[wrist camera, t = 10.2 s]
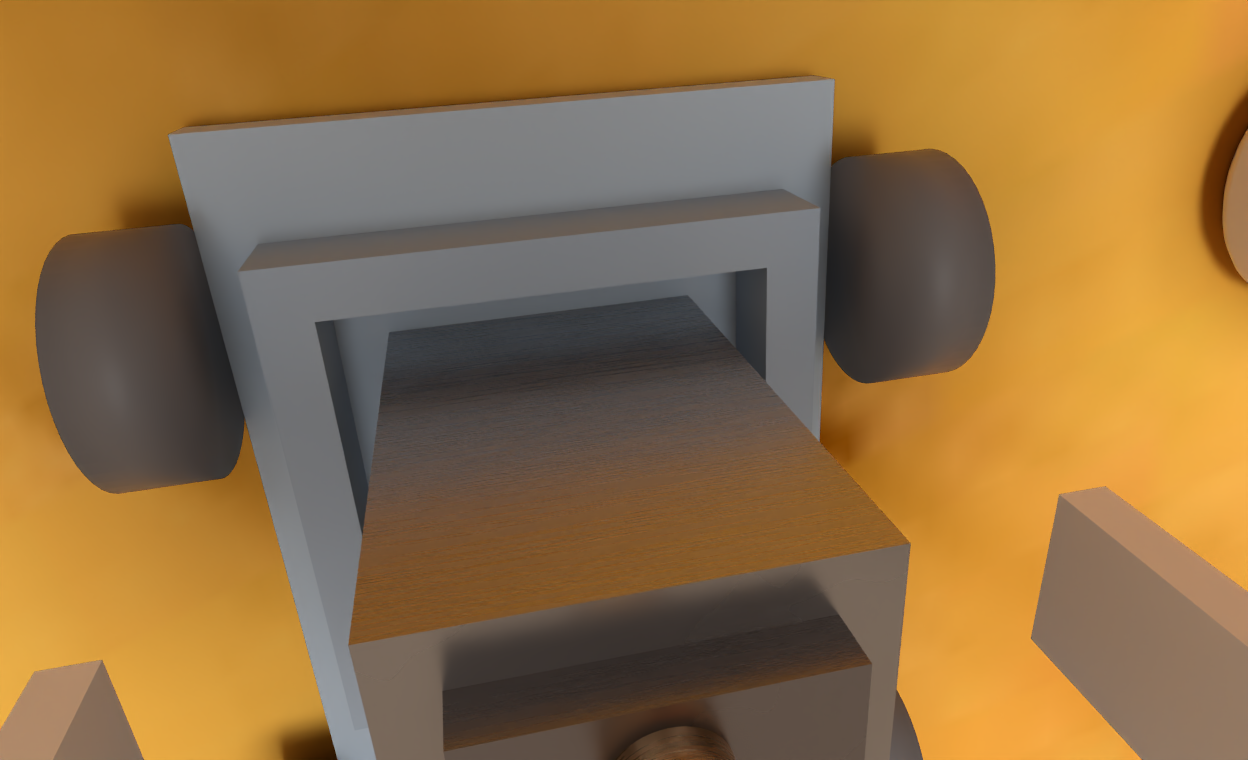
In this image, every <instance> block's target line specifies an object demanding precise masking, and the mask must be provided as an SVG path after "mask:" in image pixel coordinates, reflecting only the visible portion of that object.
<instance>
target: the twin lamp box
mask: <svg viewBox="0 0 1248 760" xmlns="http://www.w3.org/2000/svg"><path fill="white" fill-rule="evenodd" d="M909 554H910V542H909V541H908V540H907V539H906V538H905V537H904V535H903V534H902V533H901V532H900V531H899V530H898V529H897V528H896V527H895V525H894V524H893V523H892V522H891V521H890V520H889V519H888V518H887V517H886V515H885V514H884V513H883V512H882V511H881V510H880V509H879V508H878V506H877V505H876V504H875V503H874V502H873V501H872V500H871V499H870V498H869V496H868V495H867V494H866V493H865V492H864V491H863V490H862V489H861V488H860V486H859V485H858V484H857V483H856V482H855V481H854V480H853V479H852V477H851V476H850V475H849V474H848V473H847V472H846V471H845V470H844V469H843V467H842V466H841V465H840V464H839V463H838V462H837V461H836V460H835V459H834V457H833V456H832V455H831V454H830V453H829V452H828V451H827V450H826V448H825V447H824V446H823V445H822V444H821V443H820V442H819V441H818V440H817V438H816V437H815V436H814V435H813V434H812V433H811V432H810V431H809V429H808V428H807V427H806V426H805V425H804V424H803V423H802V422H801V421H800V419H799V418H798V417H797V416H796V415H795V414H794V413H793V412H792V411H791V409H790V408H789V407H788V406H787V405H786V404H785V403H784V402H783V400H782V399H781V398H780V397H779V396H778V395H777V394H776V393H775V392H774V390H773V389H772V388H771V387H770V386H769V385H768V384H767V383H766V382H765V380H764V379H763V378H762V377H761V376H760V375H759V374H758V373H757V371H756V370H755V369H754V368H753V367H752V366H751V365H750V364H749V363H748V361H747V360H746V359H745V358H744V357H743V356H742V355H741V354H740V353H739V351H738V350H737V349H736V348H735V347H734V346H733V345H732V344H731V342H730V341H729V340H728V339H727V338H726V337H725V336H724V335H723V334H722V332H721V331H720V330H719V329H718V328H717V327H716V326H715V325H714V324H713V322H712V321H711V320H710V319H709V318H708V317H707V316H706V315H705V313H704V312H703V311H702V310H701V309H700V308H699V307H698V306H697V305H696V303H695V302H694V301H693V300H692V299H691V298H690V297H689V296H688V295H685V296H677V297H669V298H661V299H653V300H645V301H637V302H629V303H621V304H612V305H604V306H596V307H588V308H580V309H572V310H564V311H556V312H548V313H540V314H532V315H524V316H516V317H508V318H500V319H492V320H484V321H476V322H467V323H459V324H451V325H443V326H435V327H427V328H419V329H411V330H403V331H395V332H389V336H388V343H387V351H386V359H385V366H384V374H383V382H382V389H381V397H380V405H379V412H378V420H377V428H376V435H375V443H374V451H373V459H372V466H371V474H370V482H369V489H368V497H367V505H366V512H365V520H364V528H363V535H362V543H361V551H360V558H359V566H358V574H357V582H356V589H355V597H354V605H353V612H352V620H351V628H350V635H349V643H348V647H349V651H350V655H351V659H352V663H353V667H354V671H355V675H356V679H357V683H358V687H359V691H360V695H361V700H362V704H363V708H364V712H365V716H366V720H367V724H368V728H369V732H370V736H371V740H372V744H373V748H374V752H375V756H376V760H889V759H890V748H891V738H892V728H893V718H894V707H895V697H896V687H897V677H898V666H899V656H900V646H901V636H902V625H903V615H904V605H905V595H906V584H907V574H908V564H909Z"/></svg>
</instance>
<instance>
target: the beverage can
mask: <svg viewBox="0 0 1248 760" xmlns="http://www.w3.org/2000/svg"><path fill="white" fill-rule="evenodd" d="M1222 220H1223V232H1224V239H1225V243H1226V247H1227V250H1228V252H1229V255H1230V257H1231V260H1232V262H1233V264H1234V266H1235V268H1236V270H1237V272H1238V273H1239V274H1240V276H1241V277H1242V278H1243V279H1244V280H1245V281H1246V282H1247V283H1248V129H1247V130H1246V132H1245V134H1244V136H1243V138H1242V140H1241V142H1240V143H1239V145H1238V148H1237V150H1236V152H1235V155H1234V157H1233V160H1232V163H1231V165H1230V168H1229V172H1228V176H1227V180H1226V184H1225V190H1224V201H1223V215H1222Z"/></svg>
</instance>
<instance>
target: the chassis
mask: <svg viewBox="0 0 1248 760" xmlns="http://www.w3.org/2000/svg"><path fill="white" fill-rule="evenodd" d="M834 84H835V79H831V78H825V77H820V76H814V75H813V76H801V77H788V78H776V79H764V80H752V81H740V82H728V83H716V84H703V85H691V86H679V87H667V88H655V89H643V90H631V91H618V92H606V93H594V94H582V95H570V96H558V97H546V98H533V99H521V100H509V101H497V102H485V103H473V104H461V105H448V106H436V107H424V108H412V109H400V110H388V111H376V112H363V113H351V114H339V115H327V116H315V117H303V118H291V119H278V120H266V121H254V122H242V123H230V124H218V125H206V126H193V127H183V128H181V129H179V130H177V131H175V132H173V133H171V134H168V137H169V141H170V145H171V148H172V152H173V156H174V159H175V163H176V167H177V170H178V174H179V178H180V181H181V185H182V189H183V193H184V196H185V200H186V204H187V207H188V211H189V215H190V218H191V222H192V226H193V229H194V231H193V230H192V229H191V228H189V227H188V226H186V225H183V224H172V225H162V226H152V227H142V228H132V229H122V230H112V231H102V232H92V233H82V234H72V235H68V236H66V237H63V238H62V239H61V240H59V241H58V242H57V243H56V244H55V245H54V247H53V248H52V249H51V251H50V252H49V254H48V256H47V258H46V260H45V262H44V265H43V268H42V272H41V275H40V279H39V284H38V289H37V298H36V313H35V329H36V346H37V354H38V362H39V368H40V373H41V378H42V383H43V387H44V391H45V395H46V399H47V403H48V406H49V409H50V412H51V415H52V418H53V421H54V423H55V425H56V428H57V430H58V433H59V435H60V437H61V439H62V441H63V443H64V445H65V447H66V449H67V451H68V453H69V454H70V456H71V458H72V459H73V461H74V462H75V464H76V465H77V467H78V468H79V469H80V470H81V472H82V473H83V474H84V475H85V476H86V477H87V478H88V479H89V480H90V481H91V482H92V483H93V484H94V485H96V486H97V487H99V488H100V489H102V490H104V491H107V492H109V493H116V494H119V493H126V492H133V491H140V490H147V489H153V488H160V487H167V486H174V485H181V484H188V483H194V482H201V481H208V480H215V479H221V478H225V477H226V476H228V475H229V474H230V473H231V471H232V470H233V468H234V467H235V465H236V463H237V460H238V457H239V454H240V450H241V446H242V439H243V432H244V418H245V421H246V424H247V428H248V432H249V435H250V439H251V443H252V446H253V450H254V454H255V458H256V461H257V465H258V469H259V472H260V476H261V480H262V483H263V487H264V491H265V494H266V498H267V502H268V505H269V509H270V513H271V516H272V520H273V524H274V527H275V531H276V535H277V538H278V542H279V546H280V550H281V553H282V557H283V561H284V564H285V568H286V572H287V575H288V579H289V583H290V586H291V590H292V594H293V597H294V601H295V605H296V608H297V612H298V616H299V619H300V623H301V627H302V631H303V634H304V638H305V642H306V645H307V649H308V653H309V656H310V660H311V664H312V667H313V671H314V675H315V678H316V682H317V686H318V689H319V693H320V697H321V700H322V704H323V708H324V711H325V715H326V719H327V723H328V726H329V730H330V734H331V737H332V741H333V745H334V748H335V752H336V756H337V759H338V760H376V756H375V752H374V748H373V744H372V740H371V736H370V732H369V728H368V724H367V720H366V716H365V712H364V708H363V704H362V700H361V695H360V691H359V687H358V683H357V679H356V675H355V671H354V667H353V663H352V659H351V655H350V651H349V647H348V643H349V635H350V628H351V620H352V612H353V605H354V597H355V589H356V582H357V574H358V566H359V558H360V551H361V543H362V535H363V528H364V520H365V512H366V505H367V497H368V489H369V482H370V474H371V466H372V459H373V451H374V443H375V435H376V428H377V420H378V412H379V405H380V397H381V389H382V382H383V374H384V366H385V359H386V351H387V343H388V336H389V332H395V331H403V330H411V329H419V328H427V327H435V326H443V325H451V324H459V323H467V322H476V321H484V320H492V319H500V318H508V317H516V316H524V315H532V314H540V313H548V312H556V311H564V310H572V309H580V308H588V307H596V306H604V305H612V304H621V303H629V302H637V301H645V300H653V299H661V298H669V297H677V296H685V295H688V296H689V297H690V298H691V299H692V300H693V301H694V302H695V303H696V305H697V306H698V307H699V308H700V309H701V310H702V311H703V312H704V313H705V315H706V316H707V317H708V318H709V319H710V320H711V321H712V322H713V324H714V325H715V326H716V327H717V328H718V329H719V330H720V331H721V332H722V334H723V335H724V336H725V337H726V338H727V339H728V340H729V341H730V342H731V344H732V345H733V346H734V347H735V348H736V349H737V350H738V351H739V353H740V354H741V355H742V356H743V357H744V358H745V359H746V360H747V361H748V363H749V364H750V365H751V366H752V367H753V368H754V369H755V370H756V371H757V373H758V374H759V375H760V376H761V377H762V378H763V379H764V380H765V382H766V383H767V384H768V385H769V386H770V387H771V388H772V389H773V390H774V392H775V393H776V394H777V395H778V396H779V397H780V398H781V399H782V400H783V402H784V403H785V404H786V405H787V406H788V407H789V408H790V409H791V411H792V412H793V413H794V414H795V415H796V416H797V417H798V418H799V419H800V421H801V422H802V423H803V424H804V425H805V426H806V427H807V428H808V429H809V431H810V432H811V433H812V434H813V435H814V436H815V437H816V438H817V440H818V441H820V417H821V393H822V370H823V346H824V340H825V342H826V344H827V346H828V349H829V351H830V353H831V354H832V356H833V358H834V359H835V361H836V362H837V364H838V365H839V366H840V368H841V369H842V370H843V371H844V372H845V373H846V374H847V375H848V376H850V377H851V378H852V379H854V380H856V381H858V382H861V383H875V382H882V381H889V380H896V379H902V378H909V377H916V376H923V375H930V374H937V373H943V372H949V371H952V370H955V369H957V368H958V367H960V366H962V365H963V364H964V363H965V362H966V361H967V360H968V359H969V358H970V357H971V356H972V355H973V353H974V352H975V351H976V349H977V348H978V346H979V344H980V342H981V340H982V338H983V336H984V333H985V331H986V328H987V325H988V322H989V318H990V314H991V310H992V304H993V298H994V288H995V255H994V245H993V239H992V232H991V228H990V224H989V219H988V215H987V212H986V209H985V207H984V204H983V201H982V198H981V196H980V194H979V192H978V189H977V187H976V186H975V184H974V182H973V181H972V179H971V177H970V176H969V174H968V173H967V172H966V170H965V169H964V168H963V166H962V165H960V164H959V163H958V162H957V161H956V160H955V159H954V158H953V157H951V156H950V155H948V154H947V153H944V152H942V151H939V150H934V149H924V150H914V151H904V152H894V153H884V154H874V155H864V156H854V157H845V158H843V159H840V160H838V161H837V162H836V163H834V164H833V165H832V166H831V155H832V132H833V108H834ZM889 760H923V758H922V754H921V750H920V746H919V743H918V739H917V736H916V733H915V730H914V727H913V725H912V722H911V719H910V717H909V714H908V712H907V710H906V707H905V705H904V703H903V701H902V699H901V697H900V695H899V693H898V691H897V690H896V697H895V707H894V718H893V728H892V738H891V748H890V759H889Z"/></svg>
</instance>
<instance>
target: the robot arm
mask: <svg viewBox="0 0 1248 760" xmlns="http://www.w3.org/2000/svg"><path fill="white" fill-rule="evenodd" d="M1031 639H1032V640H1033V641H1034V642H1035V644H1036V645H1037V646H1038V647H1039V648H1040V649H1041V650H1042V651H1043V652H1044V653H1045V654H1046V656H1047V657H1048V658H1049V659H1050V660H1051V661H1052V662H1053V663H1054V664H1055V665H1056V666H1057V667H1058V669H1059V670H1060V671H1061V672H1062V673H1063V674H1064V675H1065V676H1066V677H1067V678H1068V679H1069V681H1070V682H1071V683H1072V684H1073V685H1074V686H1075V687H1076V688H1077V689H1078V690H1079V691H1080V692H1081V694H1082V695H1083V696H1084V697H1085V698H1086V699H1087V700H1088V701H1089V702H1090V703H1091V704H1092V706H1093V707H1094V708H1095V709H1096V710H1097V711H1098V712H1099V713H1100V714H1101V715H1102V716H1103V718H1104V719H1105V720H1106V721H1107V722H1108V723H1109V724H1110V725H1111V726H1112V727H1113V728H1114V729H1115V731H1116V732H1117V733H1118V734H1119V735H1120V736H1121V737H1122V738H1123V739H1124V740H1125V741H1126V743H1127V744H1128V745H1129V746H1130V747H1131V748H1132V749H1133V750H1134V751H1135V752H1136V753H1137V755H1138V756H1139V757H1140V758H1141V759H1142V760H1248V592H1247V591H1246V590H1245V589H1243V588H1242V587H1240V586H1239V585H1238V584H1236V583H1235V582H1234V581H1232V580H1231V579H1230V578H1228V577H1227V576H1226V575H1224V574H1223V573H1222V572H1220V571H1219V570H1218V569H1216V568H1215V567H1213V566H1212V565H1211V564H1209V563H1208V562H1207V561H1205V560H1204V559H1203V558H1201V557H1200V556H1199V555H1197V554H1196V553H1195V552H1193V551H1192V550H1191V549H1189V548H1188V547H1186V546H1185V545H1184V544H1182V543H1181V542H1180V541H1178V540H1177V539H1176V538H1174V537H1173V536H1172V535H1170V534H1169V533H1168V532H1166V531H1165V530H1164V529H1162V528H1161V527H1160V526H1158V525H1157V524H1155V523H1154V522H1153V521H1151V520H1150V519H1149V518H1147V517H1146V516H1145V515H1143V514H1142V513H1141V512H1139V511H1138V510H1137V509H1135V508H1134V507H1133V506H1131V505H1130V504H1128V503H1127V502H1126V501H1124V500H1123V499H1122V498H1120V497H1119V496H1118V495H1116V494H1115V493H1114V492H1112V491H1111V490H1110V489H1108V488H1107V487H1106V486H1105V487H1099V488H1093V489H1088V490H1082V491H1076V492H1070V493H1064V494H1059V498H1058V503H1057V508H1056V514H1055V519H1054V524H1053V529H1052V534H1051V539H1050V544H1049V549H1048V554H1047V559H1046V564H1045V569H1044V575H1043V580H1042V585H1041V590H1040V595H1039V600H1038V605H1037V610H1036V615H1035V620H1034V625H1033V630H1032V636H1031ZM0 760H144V759H143V757H142V754H141V752H140V749H139V747H138V745H137V742H136V740H135V737H134V735H133V733H132V730H131V728H130V725H129V723H128V721H127V718H126V716H125V713H124V711H123V709H122V706H121V704H120V702H119V699H118V697H117V694H116V692H115V690H114V687H113V685H112V682H111V680H110V678H109V675H108V673H107V670H106V668H105V666H104V663H103V661H102V660H99V661H93V662H87V663H81V664H76V665H70V666H64V667H58V668H53V669H47V670H41V671H35V672H34V673H33V675H32V677H31V678H30V680H29V682H28V683H27V685H26V687H25V689H24V690H23V692H22V694H21V695H20V697H19V699H18V700H17V702H16V704H15V706H14V707H13V709H12V711H11V712H10V714H9V716H8V718H7V719H6V721H5V723H4V724H3V726H2V728H1V730H0Z"/></svg>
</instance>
